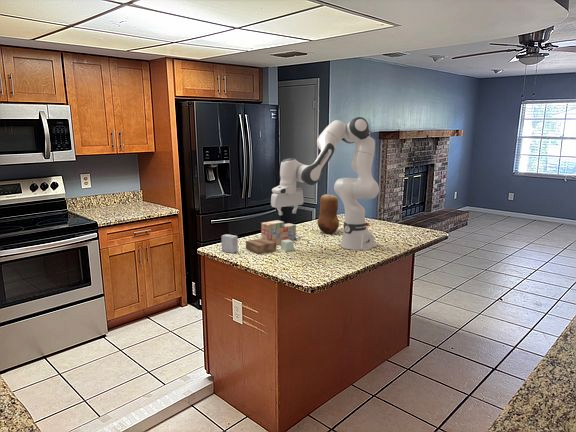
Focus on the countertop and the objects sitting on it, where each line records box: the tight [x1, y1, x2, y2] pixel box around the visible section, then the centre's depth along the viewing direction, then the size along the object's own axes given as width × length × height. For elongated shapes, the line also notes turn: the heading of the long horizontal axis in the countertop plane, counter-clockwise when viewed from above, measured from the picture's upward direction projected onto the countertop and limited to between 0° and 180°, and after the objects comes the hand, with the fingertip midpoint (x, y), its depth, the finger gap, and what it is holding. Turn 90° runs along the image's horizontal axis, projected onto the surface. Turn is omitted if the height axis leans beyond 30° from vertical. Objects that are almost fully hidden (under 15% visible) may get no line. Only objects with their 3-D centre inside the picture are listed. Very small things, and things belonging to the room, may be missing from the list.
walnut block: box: [245, 237, 277, 255], centre depth 230 cm, size 12×12×5 cm
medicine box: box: [220, 234, 239, 254], centre depth 227 cm, size 8×4×9 cm, turn 59°
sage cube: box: [280, 240, 295, 252], centre depth 232 cm, size 5×5×5 cm
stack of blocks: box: [260, 219, 297, 245], centre depth 248 cm, size 21×6×12 cm, turn 129°
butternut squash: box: [317, 193, 340, 235], centre depth 270 cm, size 14×13×25 cm
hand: (287, 214), depth 228 cm, fingers open, 8 cm apart
